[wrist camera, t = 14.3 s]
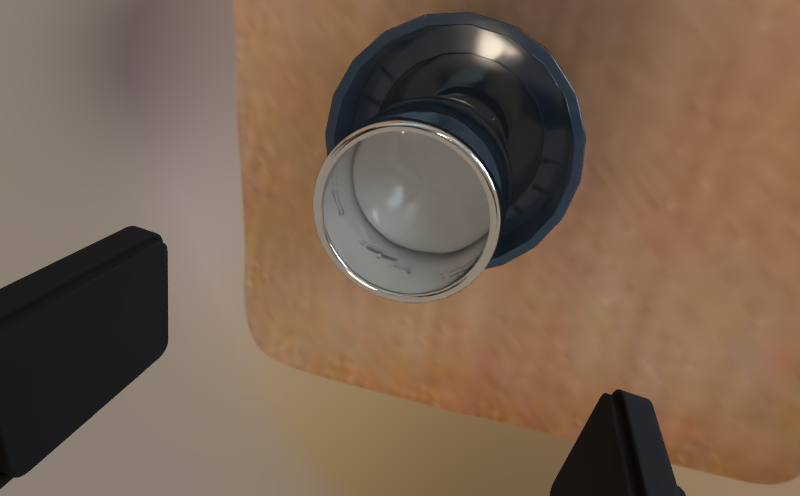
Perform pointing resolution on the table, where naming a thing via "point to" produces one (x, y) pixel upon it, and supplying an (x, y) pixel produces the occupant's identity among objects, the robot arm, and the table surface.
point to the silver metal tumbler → (418, 195)
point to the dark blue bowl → (498, 74)
